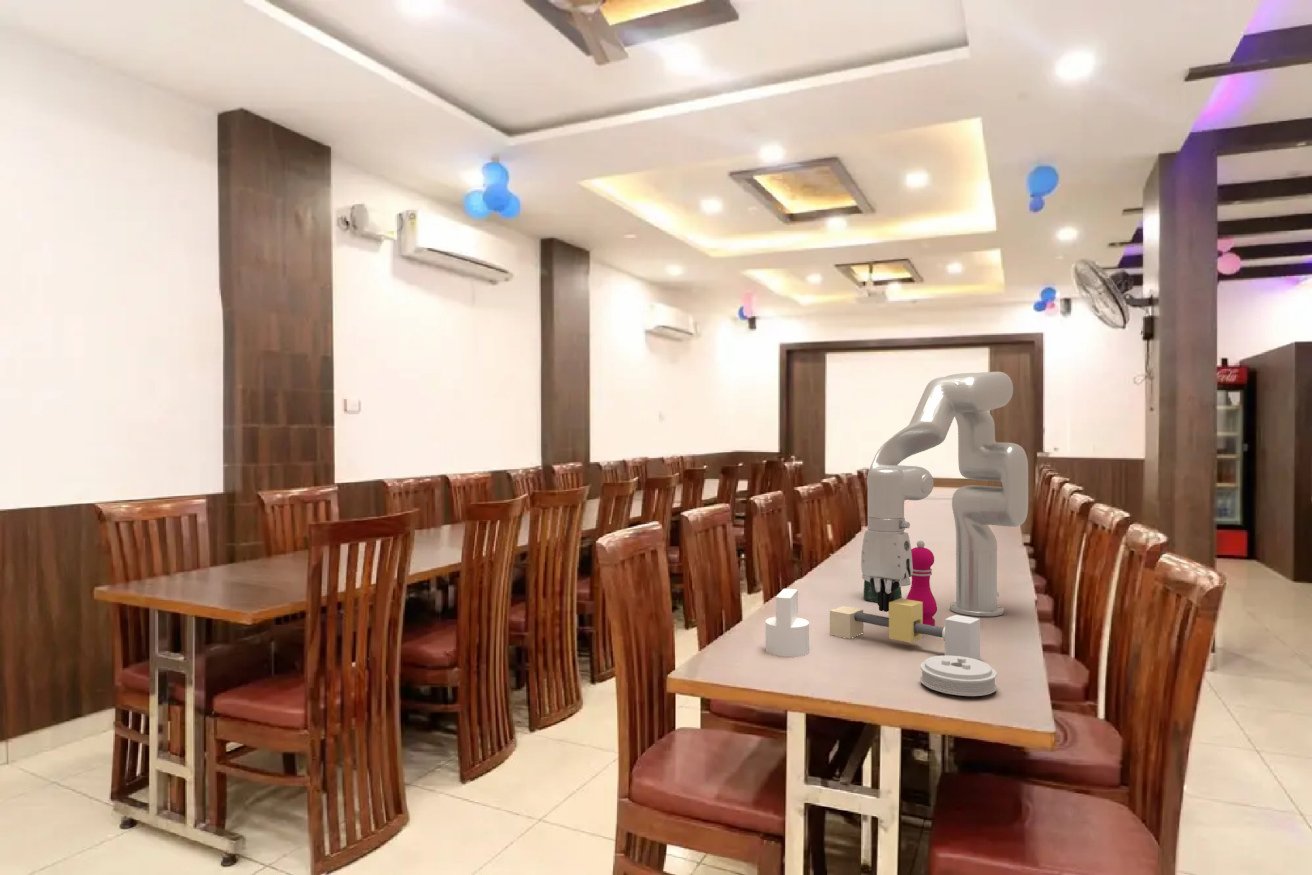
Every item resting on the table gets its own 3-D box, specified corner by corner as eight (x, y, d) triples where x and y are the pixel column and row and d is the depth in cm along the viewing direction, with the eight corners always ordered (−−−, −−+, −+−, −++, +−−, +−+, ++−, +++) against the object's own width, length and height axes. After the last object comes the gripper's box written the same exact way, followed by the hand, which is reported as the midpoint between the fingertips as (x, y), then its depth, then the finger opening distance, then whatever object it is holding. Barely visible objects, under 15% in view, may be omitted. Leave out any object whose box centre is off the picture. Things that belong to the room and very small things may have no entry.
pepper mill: (939, 630, 172) (939, 543, 172) (906, 629, 173) (906, 542, 173) (934, 622, 179) (934, 538, 179) (902, 621, 181) (902, 537, 180)
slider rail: (843, 629, 173) (843, 594, 173) (980, 657, 152) (980, 618, 152) (829, 634, 169) (829, 599, 169) (969, 664, 148) (969, 624, 148)
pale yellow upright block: (900, 633, 163) (900, 598, 163) (922, 637, 160) (922, 601, 160) (888, 638, 160) (888, 602, 160) (911, 642, 156) (911, 606, 156)
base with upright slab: (805, 658, 152) (805, 599, 152) (761, 654, 155) (761, 596, 155) (812, 646, 161) (812, 590, 160) (770, 642, 164) (770, 587, 164)
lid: (985, 678, 140) (985, 651, 140) (1005, 703, 128) (1005, 674, 128) (914, 675, 142) (914, 648, 142) (927, 699, 130) (927, 670, 130)
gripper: (926, 526, 160) (927, 612, 160) (863, 520, 171) (863, 601, 171) (910, 530, 155) (910, 619, 155) (845, 524, 165) (845, 607, 165)
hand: (885, 609), depth 163 cm, fingers closed
